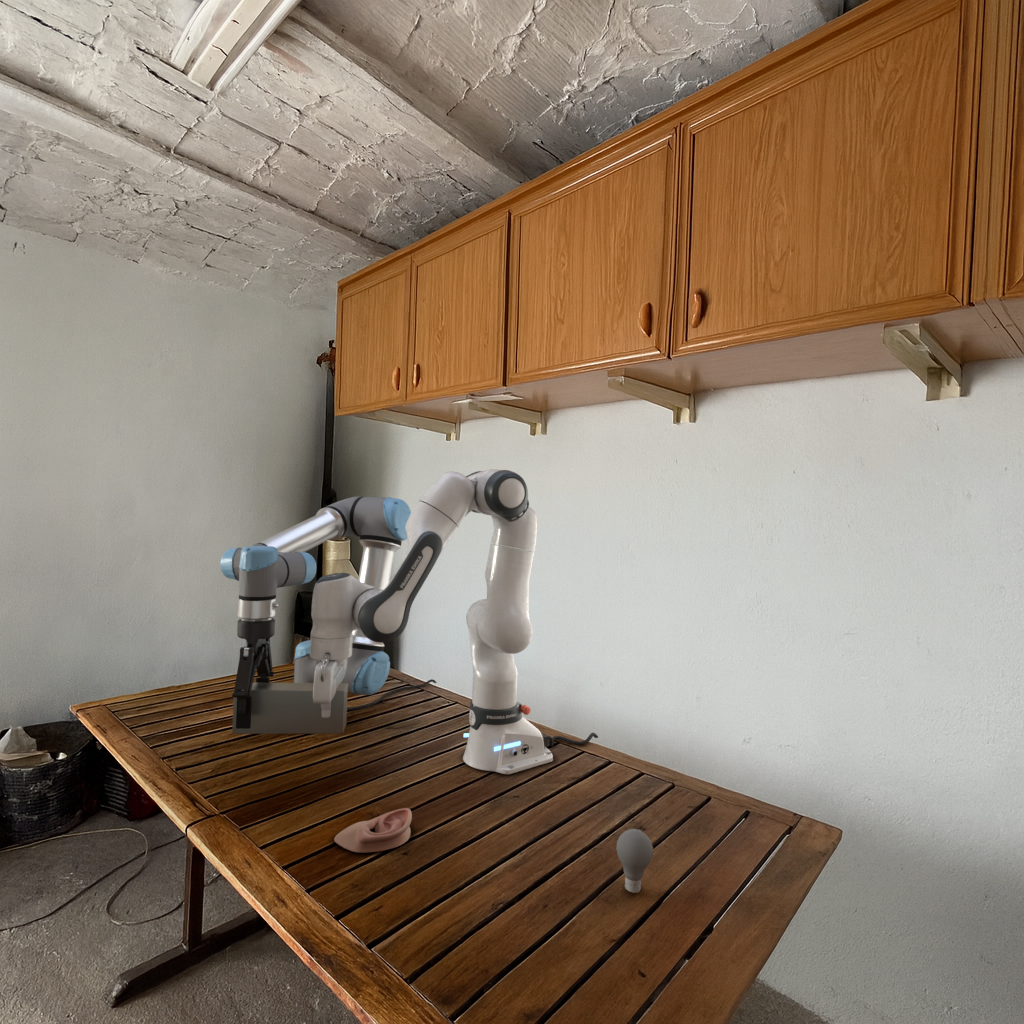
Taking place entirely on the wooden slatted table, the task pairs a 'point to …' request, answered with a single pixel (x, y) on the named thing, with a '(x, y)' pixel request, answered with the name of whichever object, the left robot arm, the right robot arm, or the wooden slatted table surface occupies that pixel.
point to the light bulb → (634, 857)
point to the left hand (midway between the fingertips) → (253, 716)
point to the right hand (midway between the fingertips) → (329, 711)
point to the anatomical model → (377, 832)
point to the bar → (292, 710)
